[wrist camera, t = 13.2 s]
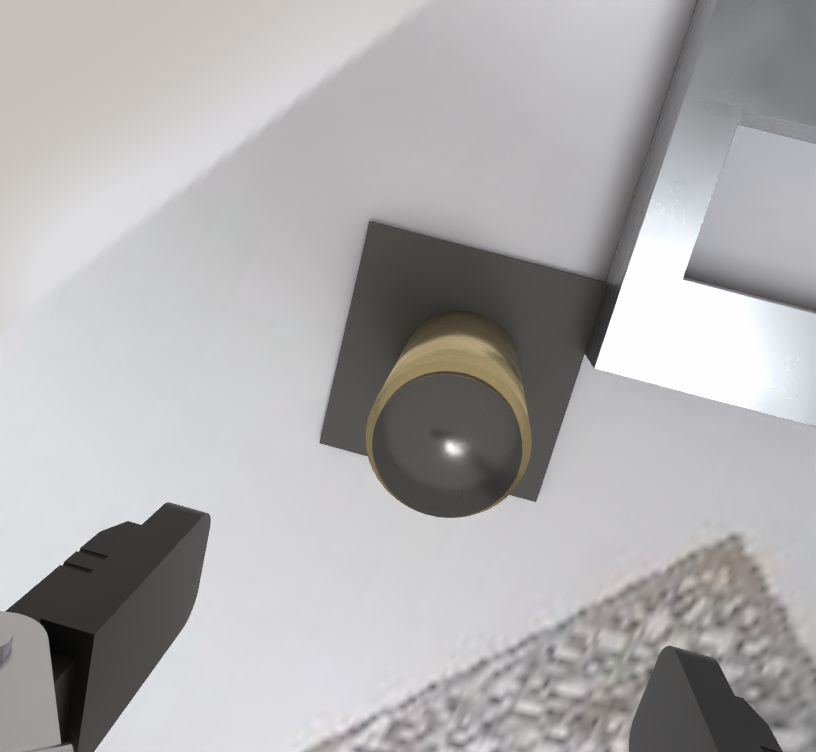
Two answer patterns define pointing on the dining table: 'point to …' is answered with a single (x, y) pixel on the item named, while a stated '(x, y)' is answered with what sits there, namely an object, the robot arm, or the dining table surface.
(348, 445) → the mat
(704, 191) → the block
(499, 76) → the dining table surface
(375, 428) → the tan cylinder
